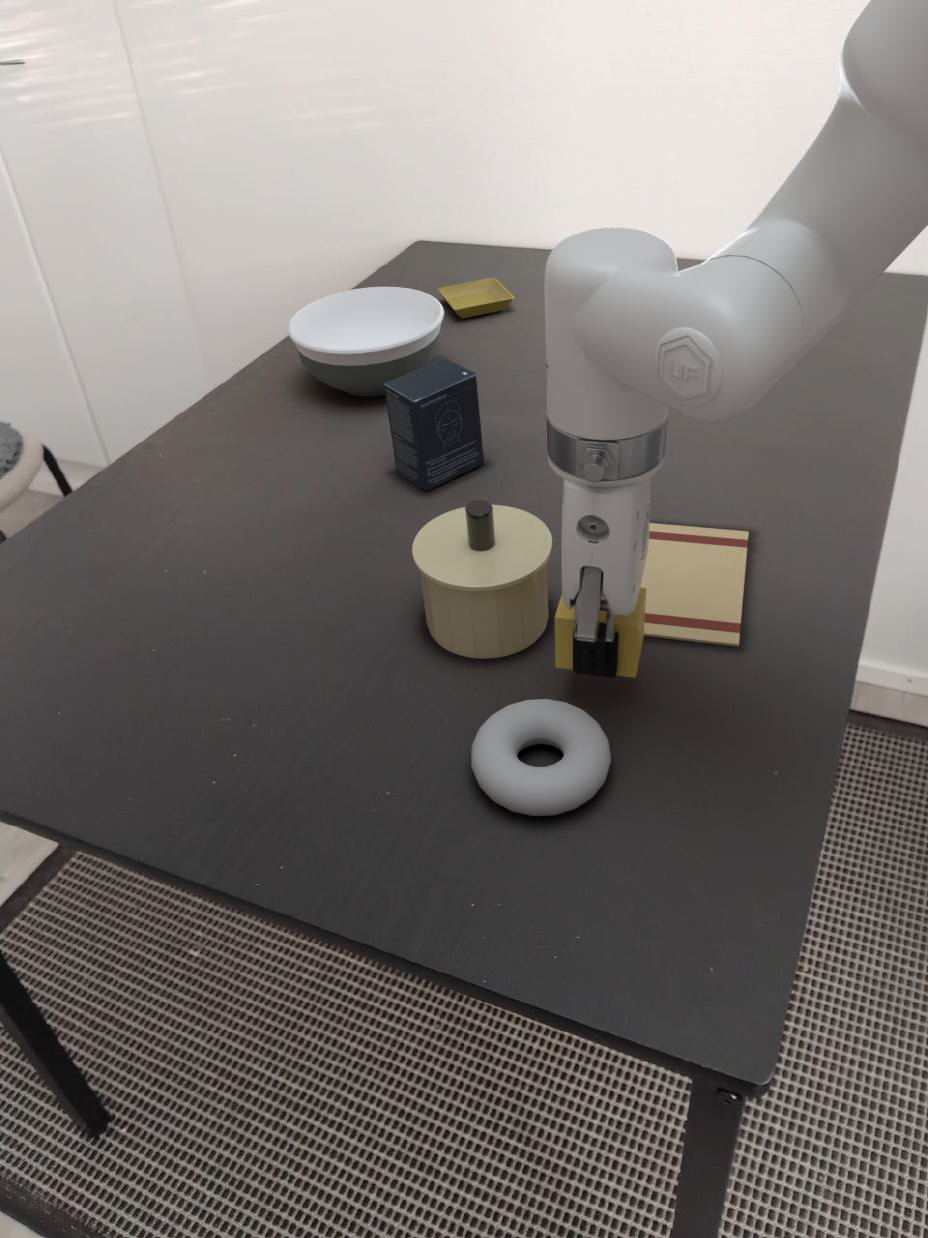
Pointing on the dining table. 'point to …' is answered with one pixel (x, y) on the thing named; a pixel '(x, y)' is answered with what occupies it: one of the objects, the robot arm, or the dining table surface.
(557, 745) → the donut
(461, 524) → the pot lid
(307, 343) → the bowl
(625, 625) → the cheese
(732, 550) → the cloth
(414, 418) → the box
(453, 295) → the yellow tray
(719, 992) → the dining table surface
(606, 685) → the dining table surface
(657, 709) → the dining table surface
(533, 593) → the pot
